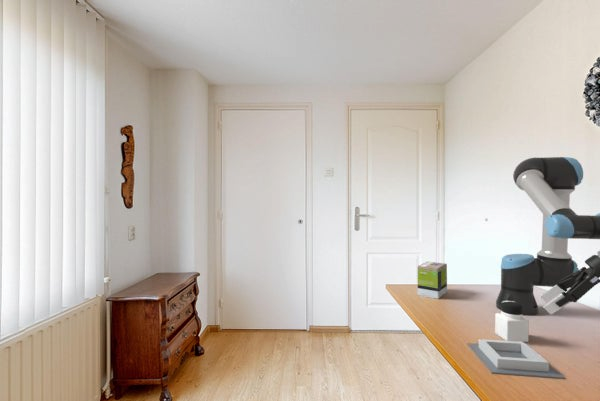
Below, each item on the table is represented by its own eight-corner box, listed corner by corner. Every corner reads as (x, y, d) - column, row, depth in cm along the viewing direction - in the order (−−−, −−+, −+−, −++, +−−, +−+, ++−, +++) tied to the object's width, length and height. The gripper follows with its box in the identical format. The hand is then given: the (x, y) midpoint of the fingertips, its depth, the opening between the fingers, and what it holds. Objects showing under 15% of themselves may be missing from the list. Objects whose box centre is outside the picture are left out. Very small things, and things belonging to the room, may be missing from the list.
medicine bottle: (528, 342, 109) (529, 305, 109) (507, 342, 109) (507, 305, 109) (515, 333, 116) (515, 299, 116) (494, 333, 116) (495, 299, 116)
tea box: (427, 289, 173) (427, 260, 173) (447, 292, 167) (447, 263, 166) (416, 295, 161) (417, 265, 161) (438, 299, 155) (438, 268, 155)
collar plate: (527, 350, 105) (527, 339, 105) (565, 381, 87) (565, 367, 87) (467, 346, 107) (467, 335, 107) (491, 375, 89) (491, 362, 89)
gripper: (633, 281, 87) (560, 327, 95) (608, 266, 108) (550, 304, 116) (606, 259, 90) (537, 305, 98) (587, 248, 111) (532, 287, 119)
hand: (544, 304), depth 107 cm, fingers open, 13 cm apart
